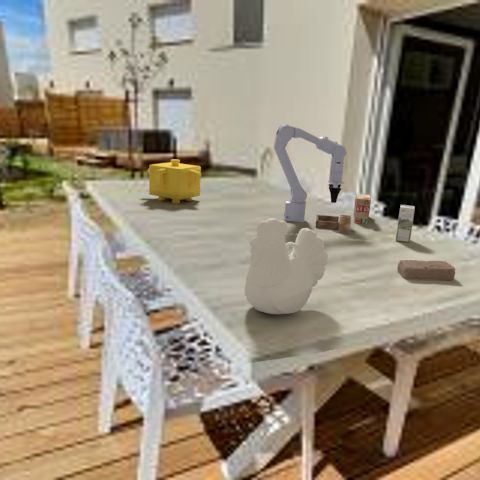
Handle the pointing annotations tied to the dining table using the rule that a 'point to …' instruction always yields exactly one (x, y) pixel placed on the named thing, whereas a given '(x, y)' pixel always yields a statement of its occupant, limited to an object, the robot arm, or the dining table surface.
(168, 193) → the cube teapot
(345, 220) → the oak block
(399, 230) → the syrup box
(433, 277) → the brick
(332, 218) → the crate
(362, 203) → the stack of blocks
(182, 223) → the dining table surface
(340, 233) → the slate coaster
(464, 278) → the dining table surface
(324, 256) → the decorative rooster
